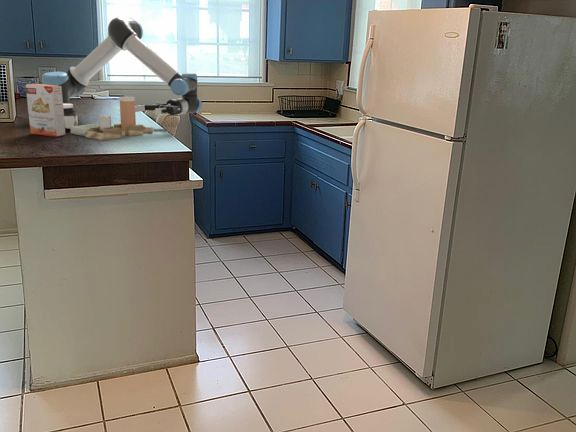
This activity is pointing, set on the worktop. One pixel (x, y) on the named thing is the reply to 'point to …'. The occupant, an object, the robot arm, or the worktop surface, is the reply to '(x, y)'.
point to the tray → (82, 129)
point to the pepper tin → (104, 122)
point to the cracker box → (45, 109)
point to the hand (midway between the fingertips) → (144, 110)
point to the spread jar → (69, 117)
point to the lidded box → (127, 112)
